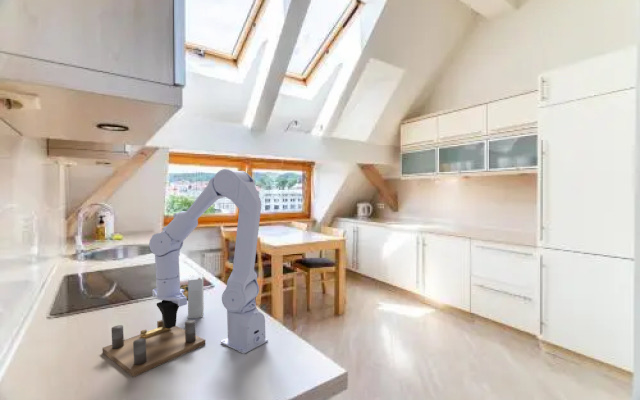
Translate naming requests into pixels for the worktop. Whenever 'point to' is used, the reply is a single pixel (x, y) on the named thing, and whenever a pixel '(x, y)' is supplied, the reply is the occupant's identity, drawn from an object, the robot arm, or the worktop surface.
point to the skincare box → (195, 296)
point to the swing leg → (155, 331)
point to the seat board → (151, 347)
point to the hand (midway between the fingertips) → (170, 326)
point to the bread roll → (185, 290)
